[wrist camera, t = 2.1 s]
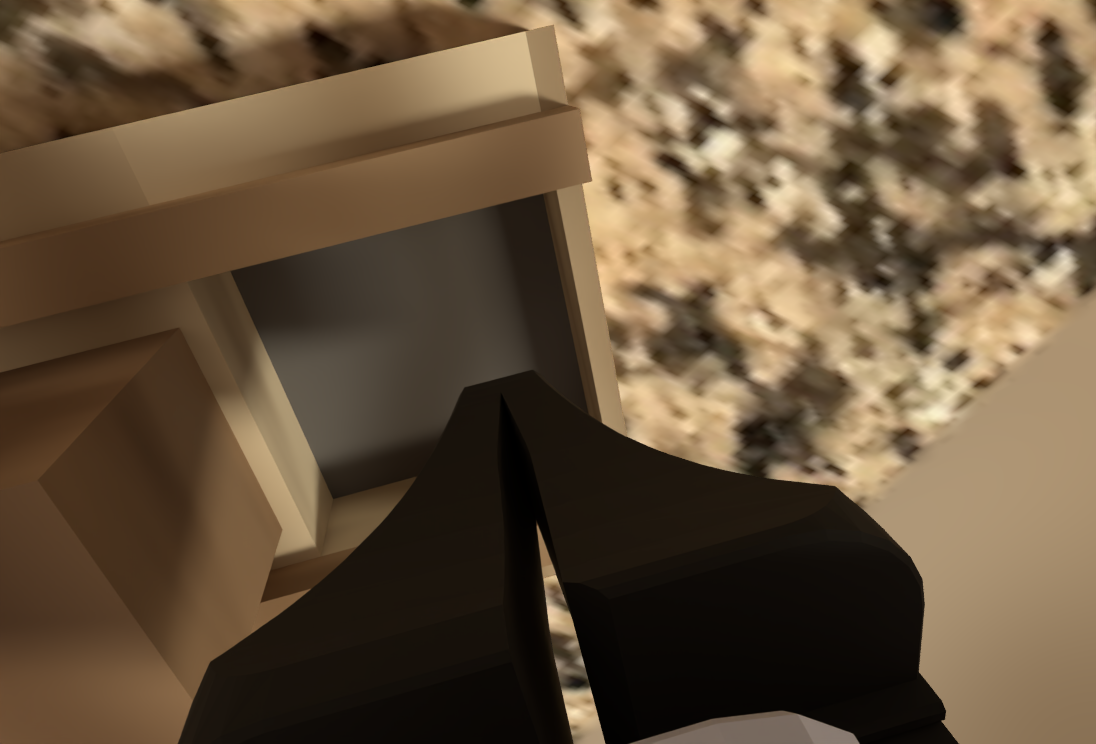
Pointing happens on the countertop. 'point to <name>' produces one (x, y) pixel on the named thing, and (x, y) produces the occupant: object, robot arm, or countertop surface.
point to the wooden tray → (328, 269)
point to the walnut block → (121, 543)
